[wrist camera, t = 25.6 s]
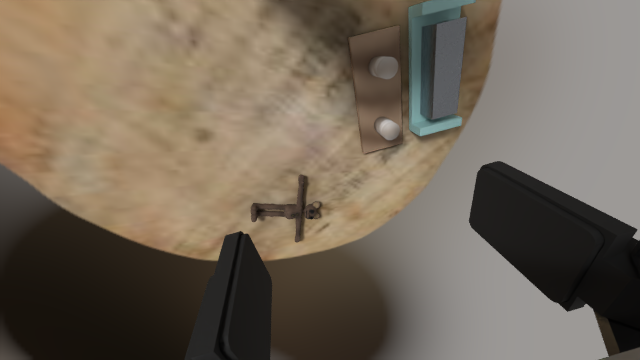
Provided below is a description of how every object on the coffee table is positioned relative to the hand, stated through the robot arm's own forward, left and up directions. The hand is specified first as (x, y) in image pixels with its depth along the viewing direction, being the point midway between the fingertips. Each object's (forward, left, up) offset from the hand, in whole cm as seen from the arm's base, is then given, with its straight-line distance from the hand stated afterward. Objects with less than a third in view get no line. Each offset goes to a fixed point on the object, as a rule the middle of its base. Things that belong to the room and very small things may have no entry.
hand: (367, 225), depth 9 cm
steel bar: (+2, +23, -33) cm, 41 cm away
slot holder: (+2, +24, -34) cm, 42 cm away
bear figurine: (+23, -9, -35) cm, 43 cm away
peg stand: (+4, +14, -34) cm, 37 cm away
